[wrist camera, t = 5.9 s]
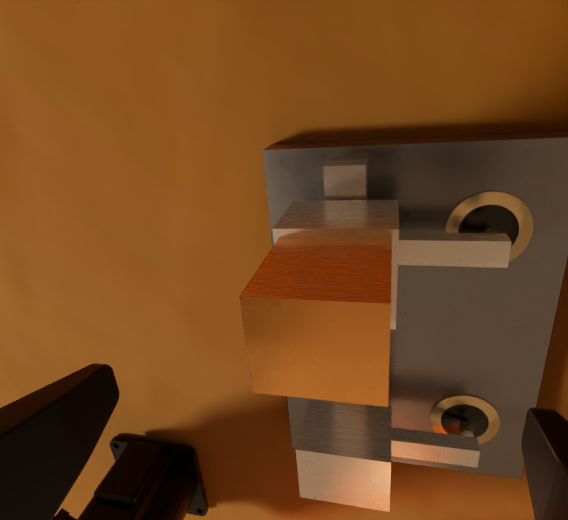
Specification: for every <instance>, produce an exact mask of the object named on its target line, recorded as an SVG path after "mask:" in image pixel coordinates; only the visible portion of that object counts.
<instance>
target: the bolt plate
mask: <svg viewBox="0 0 568 520" xmlns="http://www.w3.org/2000/svg"><path fill="white" fill-rule="evenodd" d="M263 155H264V166H265V176H266V186H267V196H268V207H269V217H270V227H271V237H272V247H273V246H274V240H273V230H272V229H273V227H274V226H275V225H276V223H277V222H278V221H279V219H280V218H281V217H282V215H283V214H284V213H285V211H286V210H287V209H288V207H289V206H290V204H291V203H292V202H293V201H318V200H398V207H399V233H482V232H483V231H484V230H485V229H487V228H493V229H495V230H496V231H497V232H498V233H506V234H507V235H508V237H509V238H510V240H511V248H510V255H509V262H508V268H497V267H458V266H420V265H398V277H397V307H396V330H395V329H390V358H389V395H388V407H383V406H374V405H364V404H355V403H345V402H336V401H327V400H317V399H308V398H299V397H289V396H287V401H288V411H289V421H290V431H291V442H292V448H296V459H297V470H298V480H299V491H300V497H302V498H309V499H315V500H321V501H327V502H333V503H339V504H345V505H351V506H357V507H363V508H369V509H375V510H381V511H387V512H390V483H391V461H393V462H400V463H408V464H415V465H422V466H429V467H437V468H444V469H451V470H459V471H466V472H473V473H481V474H488V475H495V476H502V477H510V478H517V479H521V475H522V470H523V466H524V460H523V455H522V448H521V441H522V435H523V430H524V425H525V420H526V415H527V411H528V410H529V408H532V407H536V404H537V399H538V395H539V390H540V385H541V381H542V376H543V371H544V366H545V362H546V357H547V352H548V347H549V343H550V338H551V333H552V328H553V324H554V319H555V314H556V310H557V305H558V300H559V295H560V291H561V286H562V281H563V276H564V272H565V267H566V262H567V257H568V131H553V132H531V133H509V134H487V135H465V136H443V137H421V138H399V139H377V140H354V141H332V142H310V143H288V144H272V145H270V146H269V147H267V148H266V149H264V150H263Z"/></svg>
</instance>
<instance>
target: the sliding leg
mask: <svg viewBox="0 0 568 520" xmlns="http://www.w3.org/2000/svg"><path fill="white" fill-rule="evenodd" d="M272 230H273V240H274V246H273V247H272V249H271V250H270V252H269V253H268V255H267V256H266V258H265V259H264V261H263V262H262V264H261V265H260V267H259V268H258V270H257V271H256V273H255V274H254V276H253V277H252V278H251V280H250V281H249V283H248V284H247V286H246V287H245V289H244V290H243V292H242V293H241V295H240V296H239V298H240V305H241V312H242V319H243V326H244V333H245V341H246V348H247V355H248V362H249V369H250V376H251V384H252V391H253V393H261V394H270V395H280V396H289V397H299V398H308V399H317V400H327V401H336V402H345V403H355V404H364V405H374V406H383V407H388V395H389V358H390V329H395V330H396V307H397V277H398V265H420V266H458V267H497V268H508V262H509V255H510V248H511V240H510V238H509V237H508V235H507V234H506V233H498V232H497V231H496V230H495V229H493V228H487V229H485V230H484V231H483V232H482V233H399V207H398V200H318V201H293V202H292V203H291V204H290V206H289V207H288V209H287V210H286V211H285V213H284V214H283V215H282V217H281V218H280V219H279V221H278V222H277V223H276V225H275V226H274V227H273V229H272Z"/></svg>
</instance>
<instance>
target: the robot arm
mask: <svg viewBox="0 0 568 520" xmlns="http://www.w3.org/2000/svg"><path fill="white" fill-rule="evenodd" d="M118 399H119V389H118V386H117V382H116V379H115V376H114V372H113V369H112V368H111V367H110V366H109V365H107V364H97V363H96V364H91V365H89V366H87V367H84V368H82V369H80V370H78V371H76V372H74V373H72V374H70V375H68V376H66V377H64V378H62V379H60V380H58V381H55V382H53V383H51V384H49V385H47V386H45V387H43V388H41V389H39V390H37V391H35V392H33V393H31V394H29V395H26V396H24V397H22V398H20V399H18V400H16V401H14V402H12V403H10V404H8V405H6V406H4V407H2V408H0V520H183V519H184V517H185V515H186V513H189V514H194V515H199V516H205V515H206V513H207V511H208V504H207V499H206V495H205V490H204V486H203V481H202V477H201V473H200V468H199V464H198V459H197V455H196V452H195V450H194V449H193V448H191V447H187V446H180V445H173V444H167V443H160V442H153V441H146V440H139V439H132V438H125V437H118V436H115V437H114V438H113V439H112V440H111V442H110V447H111V450H112V453H113V456H114V459H115V463H114V464H113V466H112V467H111V469H110V470H109V471H108V473H107V474H106V476H105V477H104V479H103V480H102V481H101V483H100V484H99V486H98V487H97V488H96V490H95V492H94V496H93V498H92V499H91V501H90V502H89V504H88V505H87V506H86V508H85V509H84V511H83V512H82V514H81V515H80V516H79V518H78V519H75V518H73V517H72V516H70V515H69V512H67V511H66V510H64V509H61V510H60V511H59V513H58V514H57V515H56V516H54V515H55V514H56V512H57V510H58V509H59V507H60V506H61V504H62V502H63V501H64V499H65V497H66V496H67V494H68V493H69V491H70V489H71V488H72V486H73V485H74V483H75V481H76V480H77V478H78V476H79V475H80V473H81V472H82V470H83V468H84V467H85V465H86V463H87V462H88V460H89V458H90V456H91V454H92V452H93V450H94V448H95V446H96V444H97V442H98V440H99V438H100V436H101V434H102V432H103V430H104V428H105V426H106V424H107V422H108V420H109V418H110V416H111V414H112V412H113V410H114V408H115V406H116V404H117V402H118ZM521 448H522V455H523V460H524V465H525V470H526V475H527V480H528V485H529V490H530V495H531V500H532V505H533V511H534V516H535V520H568V421H567V420H566V419H565V418H564V417H563V416H561V415H560V414H559V413H558V412H557V411H555V410H553V409H547V408H537V407H532V408H529V410H528V411H527V415H526V420H525V425H524V430H523V435H522V441H521Z"/></svg>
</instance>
